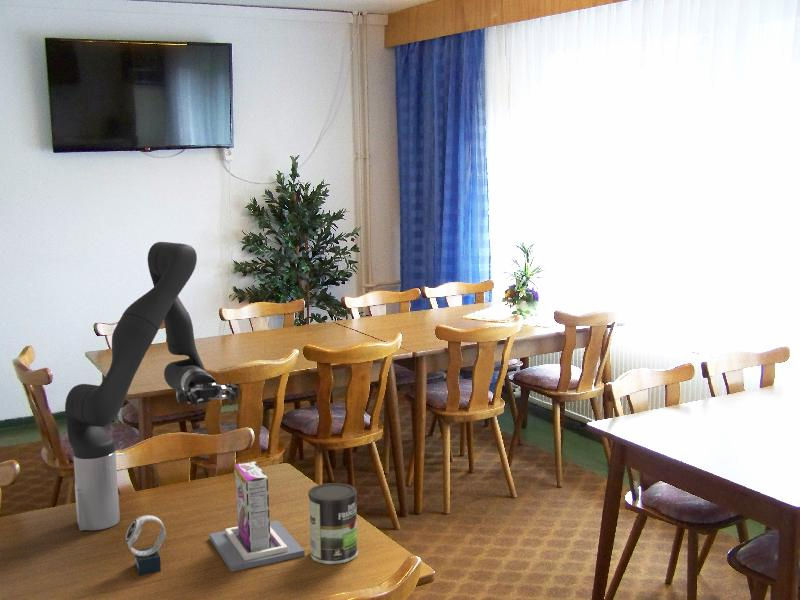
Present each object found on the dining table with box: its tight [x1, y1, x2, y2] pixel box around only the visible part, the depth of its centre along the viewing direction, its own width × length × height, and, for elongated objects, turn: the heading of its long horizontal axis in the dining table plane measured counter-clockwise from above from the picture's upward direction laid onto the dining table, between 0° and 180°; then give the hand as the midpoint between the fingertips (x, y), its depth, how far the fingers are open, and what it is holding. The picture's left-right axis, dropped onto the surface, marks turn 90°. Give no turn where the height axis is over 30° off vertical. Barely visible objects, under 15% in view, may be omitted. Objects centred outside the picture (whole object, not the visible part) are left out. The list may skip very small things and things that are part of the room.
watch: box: [124, 514, 167, 576], centre depth 174 cm, size 6×8×11 cm
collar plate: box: [209, 519, 305, 573], centre depth 184 cm, size 16×18×2 cm
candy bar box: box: [234, 461, 271, 553], centre depth 183 cm, size 11×5×16 cm, turn 24°
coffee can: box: [307, 482, 359, 565], centre depth 180 cm, size 10×10×14 cm
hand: (214, 399), depth 196 cm, fingers open, 8 cm apart
